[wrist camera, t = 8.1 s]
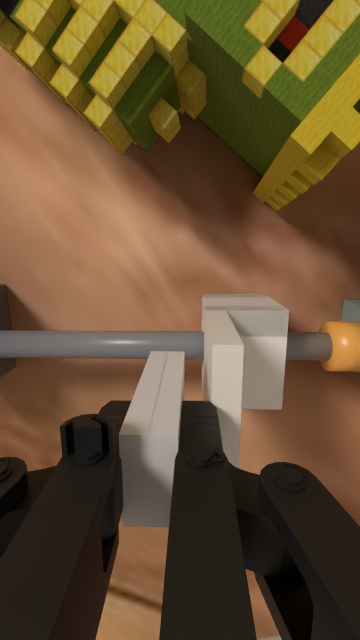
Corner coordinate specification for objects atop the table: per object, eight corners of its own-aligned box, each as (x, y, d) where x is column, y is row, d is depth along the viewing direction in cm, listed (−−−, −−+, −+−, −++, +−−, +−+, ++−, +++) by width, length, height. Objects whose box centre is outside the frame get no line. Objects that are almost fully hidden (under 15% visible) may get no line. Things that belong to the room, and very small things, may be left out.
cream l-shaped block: (201, 370, 22) (209, 483, 12) (202, 293, 21) (212, 344, 11) (261, 371, 22) (322, 485, 12) (265, 294, 21) (338, 345, 11)
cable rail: (-25, 366, 24) (-94, 405, 18) (-38, 284, 23) (-116, 299, 17) (379, 370, 23) (441, 412, 18) (391, 285, 22) (464, 300, 16)
